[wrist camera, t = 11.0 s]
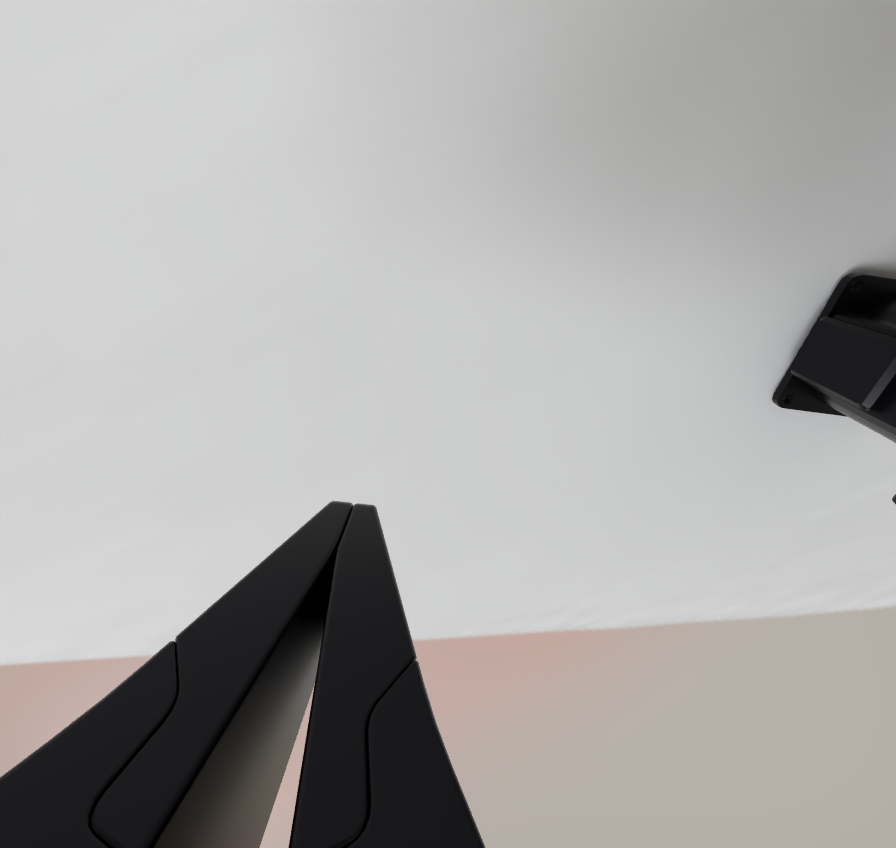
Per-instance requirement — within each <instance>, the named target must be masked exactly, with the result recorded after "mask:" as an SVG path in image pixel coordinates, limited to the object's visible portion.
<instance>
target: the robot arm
mask: <svg viewBox="0 0 896 848" xmlns="http://www.w3.org/2000/svg"><path fill="white" fill-rule="evenodd" d="M853 283H855V285H854V287H853V288H852V289H850V288H851V286H852V284H853ZM787 395H788V396H787ZM785 396H787V397H786V399H784V398H785ZM783 399H784V400H783ZM772 401H773V402H774V404H776V405H778V406H779V407H781V408H786V409H794V410H802V411H810V412H817V413H825V414H833V415H840V416H848V417H850V418H852V419H853V420H855V421H857V422H859V423H861V424H862V425H864V426H866V427H868V428H870V429H872V430H873V431H875V432H877V433H879V434H881V435H883V436H884V437H886V438H888V439H890V440H892V441H893V442H895V443H896V279H889V278H883V277H876V276H870V275H864V274H857V273H853V274H849V275H847V276H845V277H844V278H843V279H842V280H841V281H840V282H839V283H838V285H837V287H836V288H835V290H834V292H833V294H832V295H831V297H830V299H829V300H828V302H827V304H826V306H825V307H824V309H823V311H822V312H821V314H820V316H819V318H818V319H817V321H816V323H815V324H814V326H813V328H812V330H811V331H810V333H809V335H808V336H807V338H806V340H805V342H804V343H803V345H802V347H801V348H800V350H799V352H798V354H797V355H796V357H795V359H794V360H793V362H792V364H791V365H790V367H789V369H788V371H787V372H786V374H785V376H784V377H783V379H782V381H781V383H780V384H779V386H778V388H777V389H776V391H775V393H774V395H773V397H772ZM892 500H893V502H894V503H895V504H896V494H895V496H894V497H893V498H892ZM175 642H176V643H175ZM175 642H174V641H171V642H169V643H168V644H167V645H166V646H165V647H163V648H162V649H161V650H160V651H159V652H158V653H157V654H155V655H154V656H153V657H152V658H151V659H150V660H148V661H147V662H146V663H145V664H144V665H143V666H141V667H140V668H139V669H138V670H137V671H135V672H134V673H133V674H132V675H131V676H129V677H128V678H127V679H126V680H125V681H124V682H122V683H121V684H120V685H119V686H118V687H116V688H115V689H114V690H113V691H112V692H110V693H109V694H108V695H107V696H106V697H104V698H103V699H102V700H101V701H99V702H98V703H97V704H95V705H94V706H93V707H92V708H90V709H89V710H88V711H86V712H85V713H84V714H83V715H81V716H80V717H79V718H77V719H76V720H75V721H74V722H72V723H71V724H70V725H69V726H68V727H66V728H65V729H64V730H62V731H61V732H60V733H58V734H57V735H56V736H54V737H53V738H52V739H51V740H49V741H48V742H47V743H45V744H44V745H43V746H41V747H40V748H39V749H37V750H36V751H35V752H33V753H32V754H31V755H29V756H28V757H27V758H25V759H24V760H23V761H21V762H20V763H19V764H17V765H16V766H15V767H13V768H12V769H11V770H9V771H8V772H7V773H5V774H4V775H3V776H1V777H0V848H259V847H260V844H261V841H262V838H263V835H264V832H265V829H266V826H267V823H268V820H269V817H270V814H271V811H272V808H273V805H274V802H275V799H276V796H277V793H278V790H279V787H280V784H281V782H282V779H283V776H284V773H285V770H286V766H287V764H288V760H289V758H290V755H291V752H292V749H293V745H294V743H295V740H296V737H297V734H298V731H299V728H300V725H301V722H302V719H303V716H304V713H305V710H306V707H307V704H308V701H309V698H310V696H311V693H312V689H313V686H314V684H315V686H314V692H313V699H312V706H311V711H310V717H309V723H308V730H307V736H306V742H305V749H304V755H303V761H302V767H301V774H300V780H299V786H298V792H297V799H296V805H295V812H294V818H293V824H292V830H291V836H290V842H289V848H485V846H484V843H483V841H482V838H481V836H480V833H479V831H478V828H477V826H476V823H475V821H474V819H473V816H472V814H471V811H470V809H469V806H468V804H467V802H466V799H465V797H464V794H463V792H462V789H461V787H460V784H459V782H458V779H457V777H456V774H455V772H454V769H453V767H452V764H451V762H450V759H449V756H448V754H447V751H446V748H445V746H444V743H443V740H442V737H441V735H440V732H439V729H438V727H437V724H436V721H435V718H434V715H433V711H432V708H431V705H430V701H429V698H428V695H427V692H426V688H425V685H424V682H423V678H422V674H421V671H420V667H419V663H418V662H417V661H416V653H415V650H414V646H413V642H412V638H411V635H410V631H409V627H408V624H407V620H406V616H405V612H404V609H403V605H402V601H401V598H400V594H399V590H398V587H397V583H396V579H395V576H394V572H393V568H392V564H391V561H390V557H389V553H388V550H387V546H386V542H385V539H384V535H383V531H382V528H381V524H380V520H379V516H378V513H377V509H376V507H375V506H374V505H367V504H355V505H354V506H353V504H352V503H348V502H339V501H332V502H330V503H329V504H328V505H327V506H325V507H324V508H323V509H322V510H321V511H320V512H319V513H317V514H316V515H315V516H314V517H313V518H312V519H310V520H309V521H308V522H307V523H306V524H305V525H304V526H302V527H301V528H300V529H299V530H298V531H297V532H296V533H294V534H293V535H292V536H291V537H290V538H289V539H288V540H286V541H285V542H284V543H283V544H282V545H281V546H280V547H278V548H277V549H276V550H275V551H274V552H273V553H271V554H270V555H269V556H268V557H267V558H266V559H265V560H263V561H262V562H261V563H260V564H259V565H258V566H257V567H255V568H254V569H253V570H252V571H251V572H250V573H249V574H247V575H246V576H245V577H244V578H243V579H242V580H241V581H239V582H238V583H237V584H236V585H235V586H234V587H233V588H231V589H230V590H229V591H228V592H227V593H226V594H224V595H223V596H222V597H221V598H220V599H219V600H218V601H216V602H215V603H214V604H213V605H212V606H211V607H210V608H208V609H207V610H206V611H205V612H204V613H203V614H202V615H200V616H199V617H198V618H197V619H196V620H195V621H194V622H192V623H191V624H190V625H189V626H188V627H187V628H185V629H184V630H183V631H182V632H181V633H180V634H179V635H177V636H176V639H175Z"/></svg>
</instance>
